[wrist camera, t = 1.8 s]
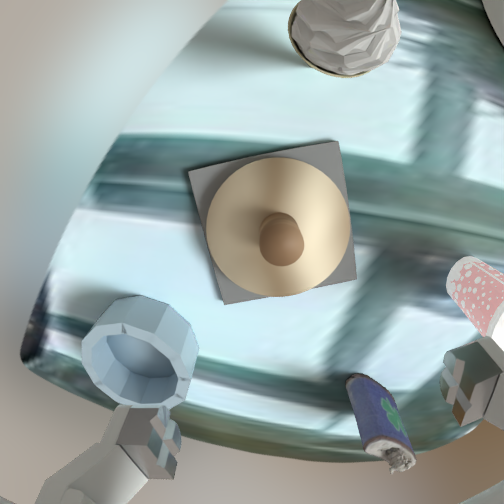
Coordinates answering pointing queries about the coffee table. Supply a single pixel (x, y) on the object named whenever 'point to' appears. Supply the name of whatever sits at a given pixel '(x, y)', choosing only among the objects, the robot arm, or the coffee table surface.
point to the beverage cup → (479, 296)
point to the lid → (278, 227)
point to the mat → (214, 176)
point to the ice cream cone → (345, 34)
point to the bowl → (141, 353)
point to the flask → (380, 422)
